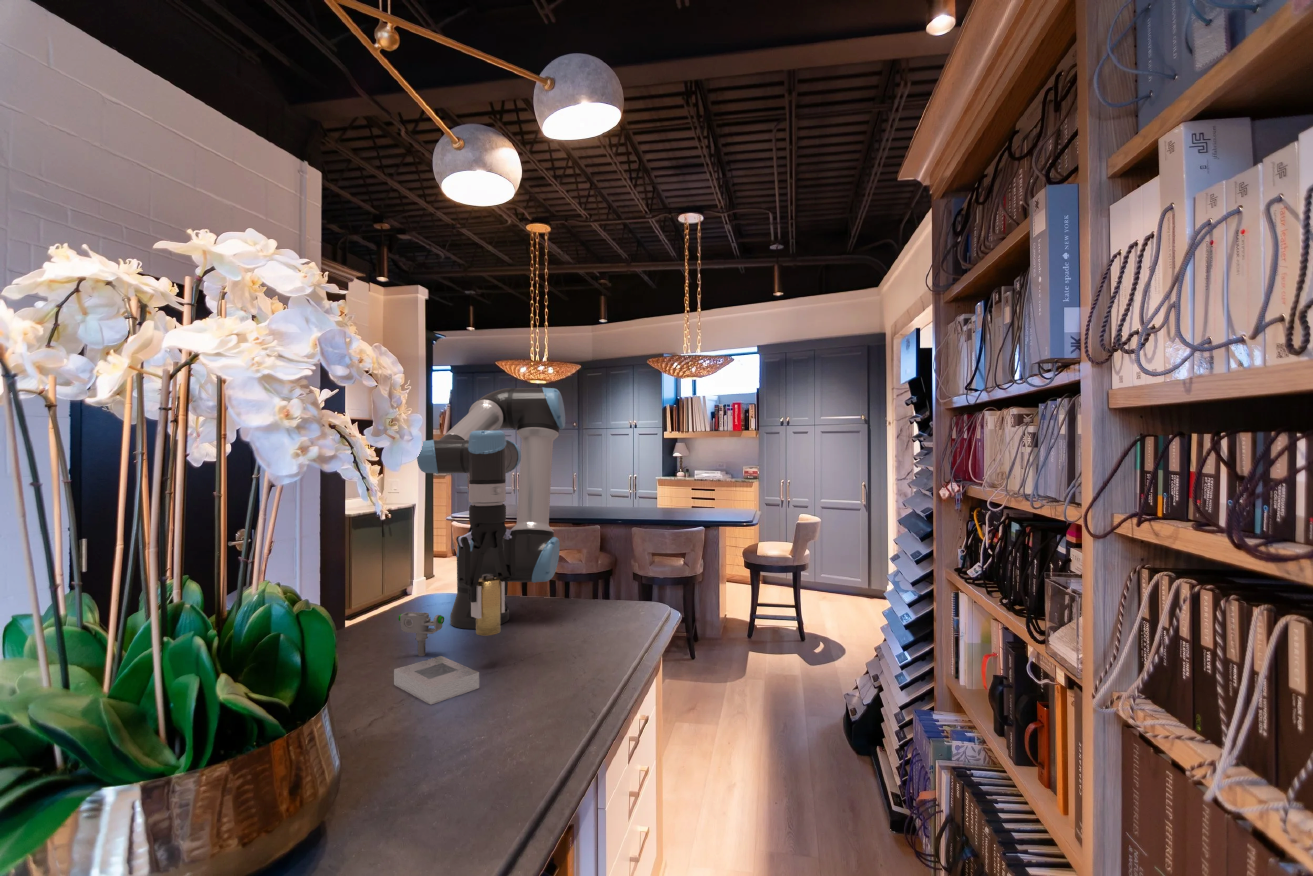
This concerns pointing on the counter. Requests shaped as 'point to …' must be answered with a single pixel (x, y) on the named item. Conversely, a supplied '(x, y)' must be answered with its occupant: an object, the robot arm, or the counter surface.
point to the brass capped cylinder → (489, 606)
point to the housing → (436, 679)
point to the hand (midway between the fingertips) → (488, 614)
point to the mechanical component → (420, 627)
